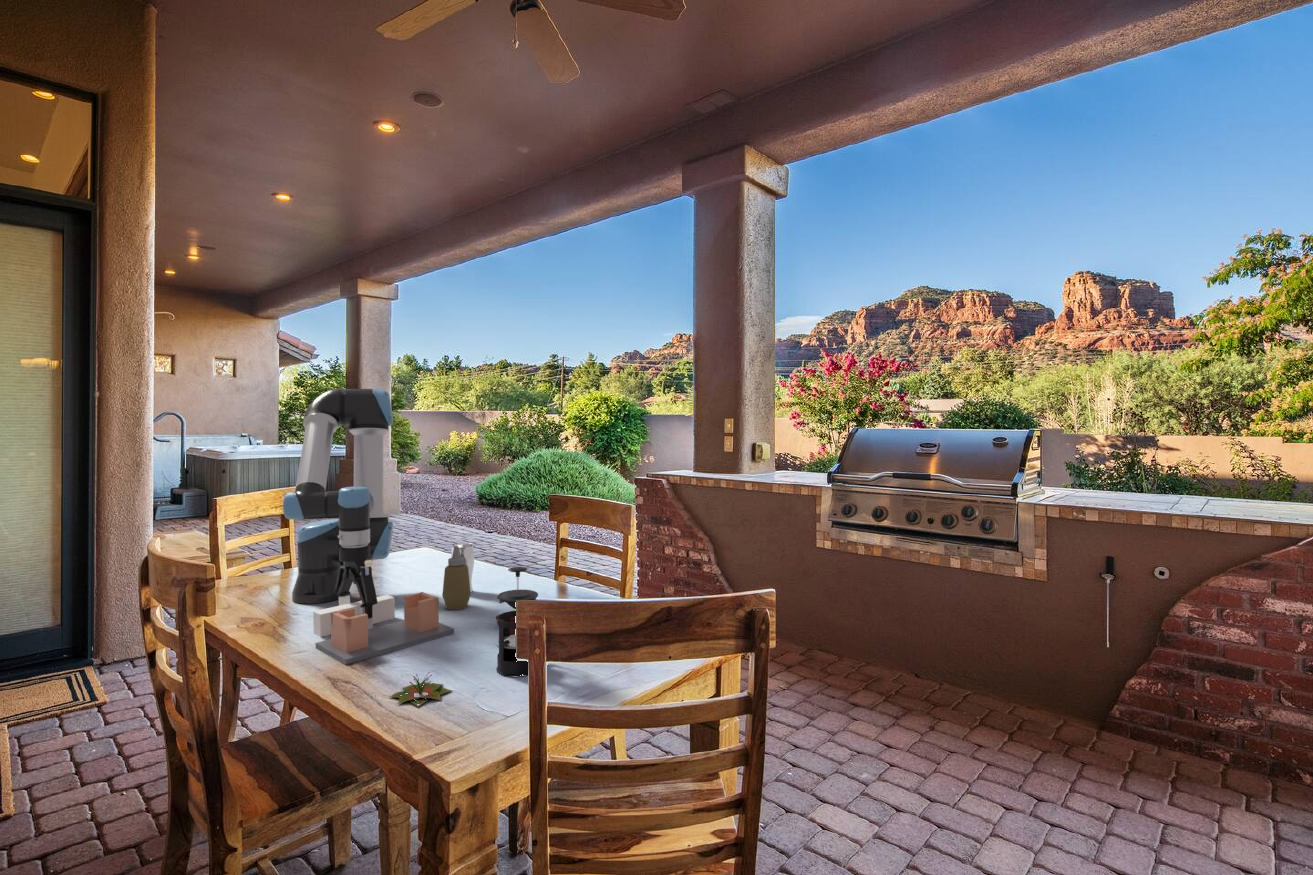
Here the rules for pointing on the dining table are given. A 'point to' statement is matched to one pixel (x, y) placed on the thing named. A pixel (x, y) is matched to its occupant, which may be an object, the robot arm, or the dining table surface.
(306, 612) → the dining table surface
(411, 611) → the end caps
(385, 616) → the slat
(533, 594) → the french press
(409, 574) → the dining table surface
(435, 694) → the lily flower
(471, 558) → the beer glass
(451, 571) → the squeeze bottle
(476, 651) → the dining table surface
